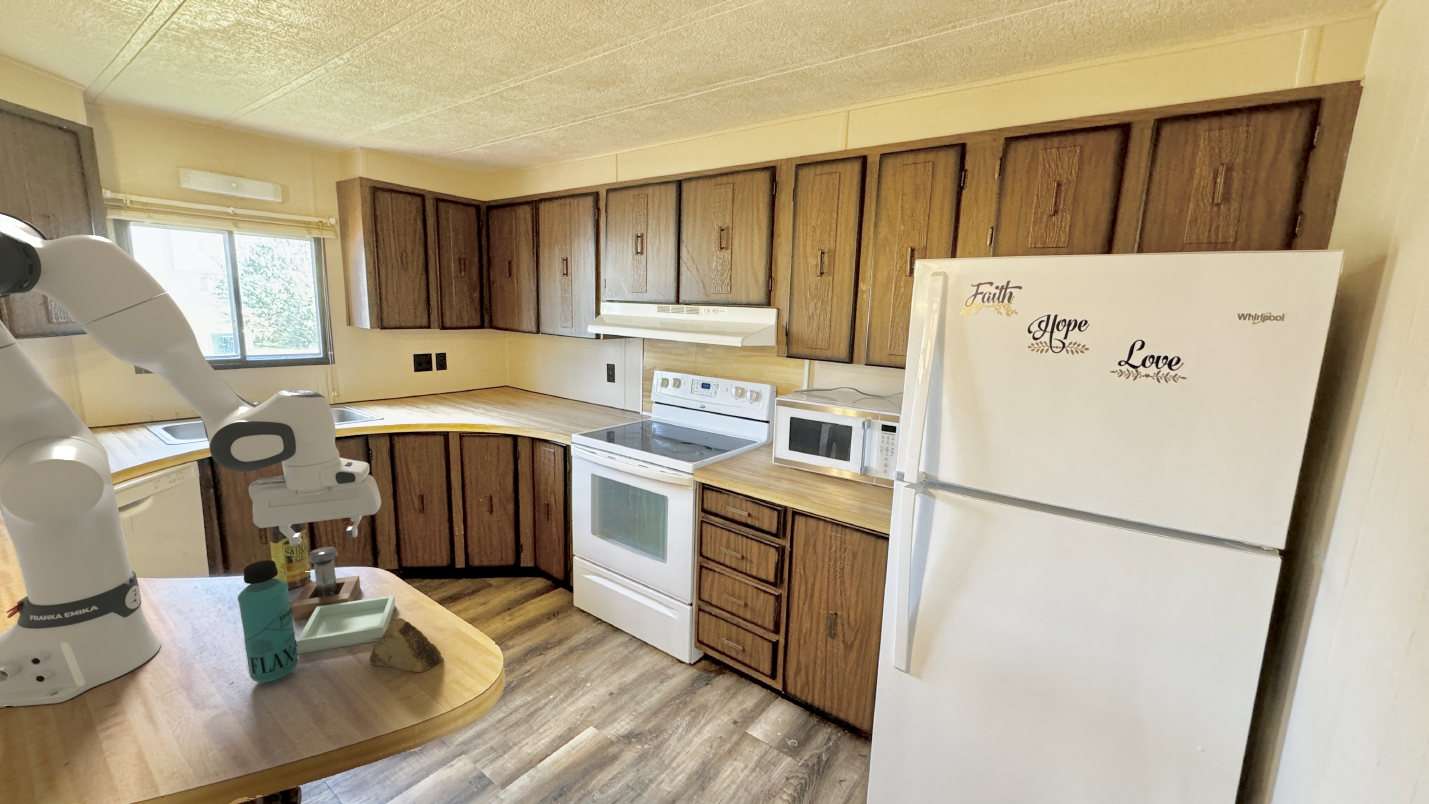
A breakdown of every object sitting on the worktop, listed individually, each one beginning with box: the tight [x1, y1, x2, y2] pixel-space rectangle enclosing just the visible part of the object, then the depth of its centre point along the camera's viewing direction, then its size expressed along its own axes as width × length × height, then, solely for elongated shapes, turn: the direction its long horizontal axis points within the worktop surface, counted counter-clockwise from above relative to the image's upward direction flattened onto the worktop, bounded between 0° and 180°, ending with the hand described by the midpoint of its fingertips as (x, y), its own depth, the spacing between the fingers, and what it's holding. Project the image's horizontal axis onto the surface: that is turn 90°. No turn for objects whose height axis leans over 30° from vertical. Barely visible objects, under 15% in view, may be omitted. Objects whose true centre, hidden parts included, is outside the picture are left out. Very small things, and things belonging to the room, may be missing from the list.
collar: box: [291, 575, 361, 621], centre depth 110 cm, size 9×9×3 cm
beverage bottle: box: [237, 559, 300, 683], centre depth 88 cm, size 6×7×20 cm
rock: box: [369, 617, 444, 673], centre depth 94 cm, size 11×9×10 cm
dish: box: [296, 595, 396, 655], centre depth 102 cm, size 13×11×2 cm
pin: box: [308, 546, 338, 597], centre depth 109 cm, size 5×5×11 cm
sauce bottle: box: [268, 523, 312, 590], centre depth 115 cm, size 6×6×20 cm
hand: (324, 539), depth 108 cm, fingers open, 8 cm apart
